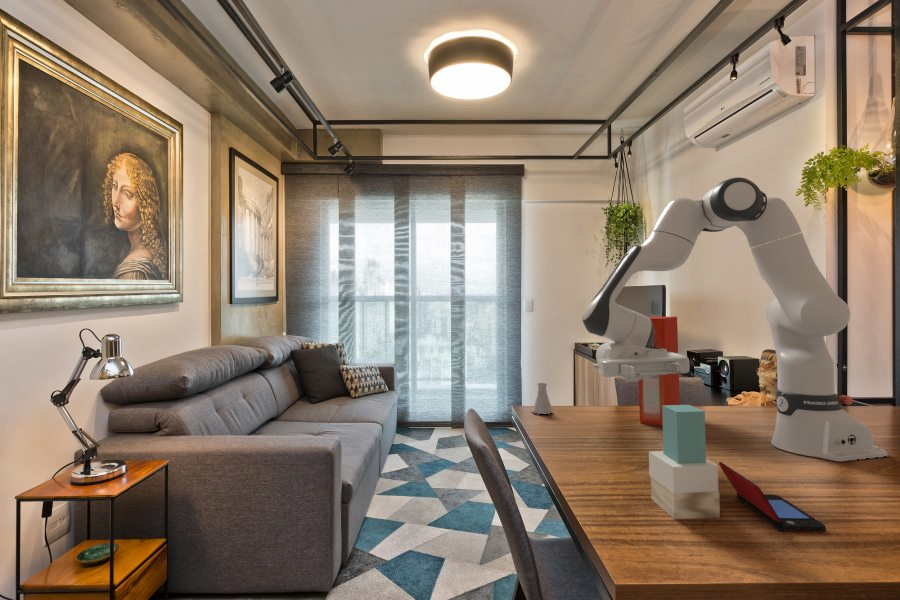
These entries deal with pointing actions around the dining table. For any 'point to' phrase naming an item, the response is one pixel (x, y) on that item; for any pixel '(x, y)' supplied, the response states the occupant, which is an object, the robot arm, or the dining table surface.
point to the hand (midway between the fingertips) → (658, 370)
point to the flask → (542, 400)
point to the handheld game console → (771, 506)
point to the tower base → (686, 502)
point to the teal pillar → (684, 433)
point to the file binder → (662, 386)
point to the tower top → (683, 474)
